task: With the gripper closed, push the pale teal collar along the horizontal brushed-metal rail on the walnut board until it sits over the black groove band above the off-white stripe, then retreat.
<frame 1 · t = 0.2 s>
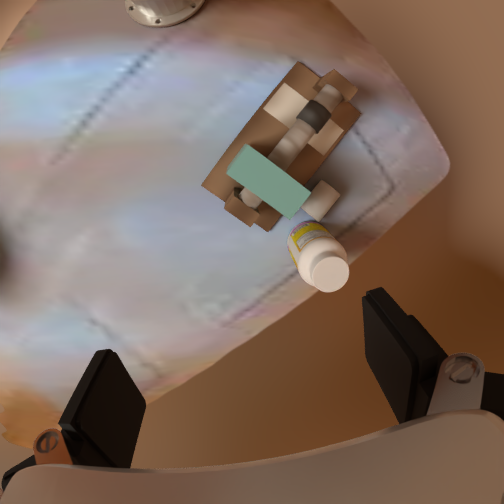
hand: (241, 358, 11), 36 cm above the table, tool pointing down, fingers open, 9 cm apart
supplement bottle: (307, 239, 48), on the table
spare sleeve: (317, 198, 46), on the table
pipe rig: (282, 145, 42), on the table
collar: (265, 177, 38), point 6 cm above the table, slide at 0.0 cm
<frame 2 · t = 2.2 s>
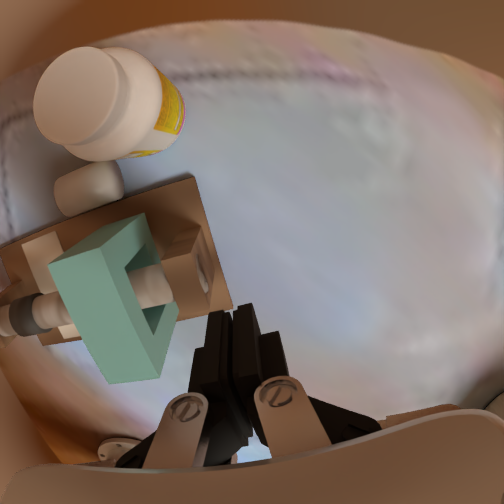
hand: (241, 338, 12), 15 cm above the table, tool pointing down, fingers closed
supplement bottle: (148, 117, 23), on the table
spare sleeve: (93, 174, 23), on the table, tilted 34°
pipe rig: (99, 275, 27), on the table
collar: (124, 292, 21), point 6 cm above the table, slide at 0.0 cm
canister: (494, 408, 40), on the table
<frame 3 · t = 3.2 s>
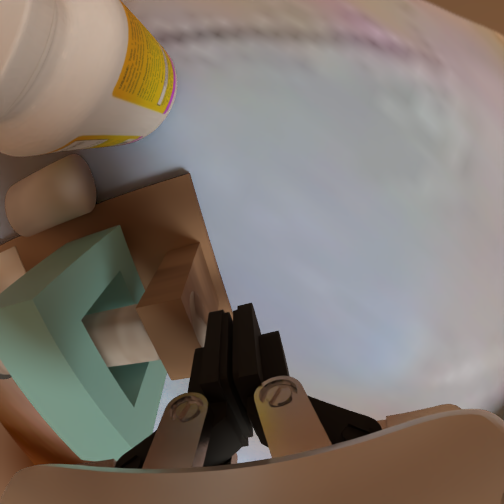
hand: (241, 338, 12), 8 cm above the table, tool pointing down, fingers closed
supplement bottle: (126, 92, 15), on the table
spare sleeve: (53, 173, 16), on the table, tilted 47°
pipe rig: (71, 303, 20), on the table
collar: (92, 341, 14), point 6 cm above the table, slide at 0.0 cm
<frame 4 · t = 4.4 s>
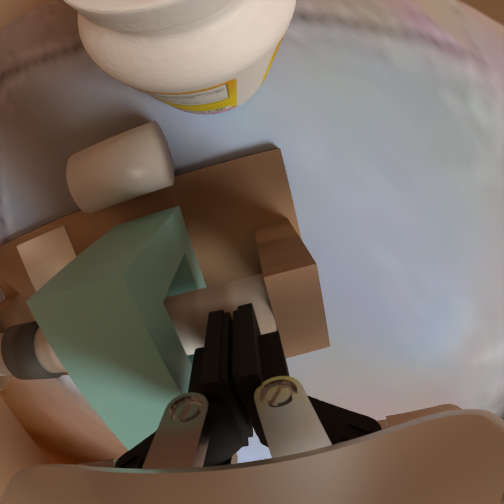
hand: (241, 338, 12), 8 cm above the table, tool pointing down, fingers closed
supplement bottle: (209, 62, 15), on the table
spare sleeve: (121, 143, 16), point 1 cm above the table, tilted 50°
pipe rig: (129, 288, 19), on the table
collar: (155, 330, 14), point 6 cm above the table, slide at 1.5 cm, touching gripper
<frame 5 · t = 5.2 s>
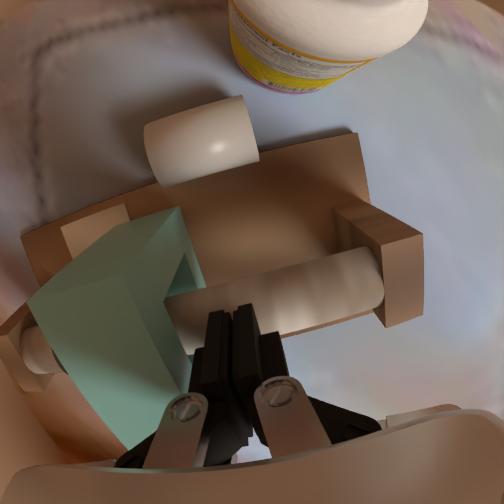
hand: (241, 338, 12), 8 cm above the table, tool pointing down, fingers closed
supplement bottle: (287, 45, 15), on the table
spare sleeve: (198, 117, 16), point 1 cm above the table, tilted 51°
pipe rig: (193, 272, 19), on the table
collar: (155, 330, 14), point 6 cm above the table, slide at 6.2 cm, touching gripper
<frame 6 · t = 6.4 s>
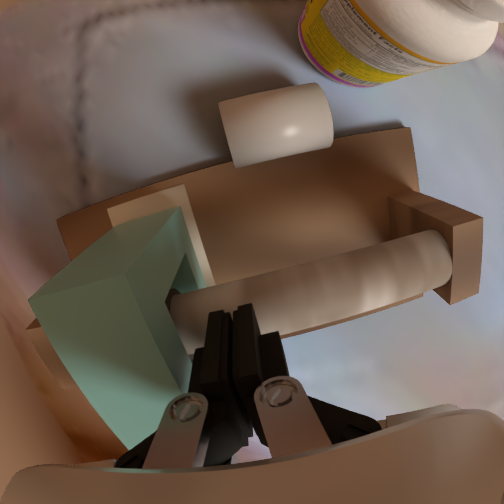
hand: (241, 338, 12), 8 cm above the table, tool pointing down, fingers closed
supplement bottle: (347, 41, 15), on the table
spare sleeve: (266, 101, 15), point 1 cm above the table, tilted 51°
pipe rig: (251, 258, 19), on the table
collar: (155, 329, 14), point 6 cm above the table, slide at 9.9 cm, touching gripper
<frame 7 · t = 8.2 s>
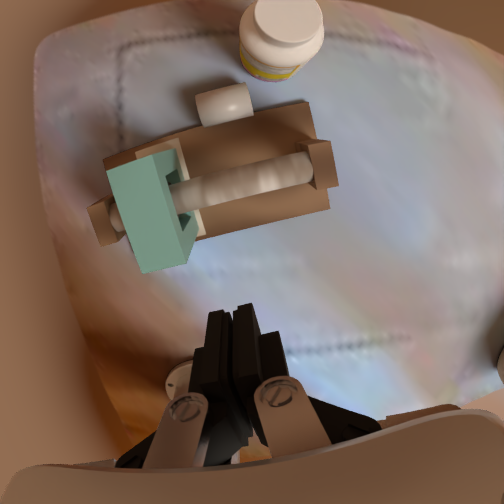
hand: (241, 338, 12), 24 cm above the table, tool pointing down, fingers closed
supplement bottle: (270, 55, 28), on the table
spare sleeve: (221, 93, 29), point 1 cm above the table, tilted 51°
pipe rig: (215, 179, 33), on the table
collar: (159, 204, 27), point 6 cm above the table, slide at 9.9 cm
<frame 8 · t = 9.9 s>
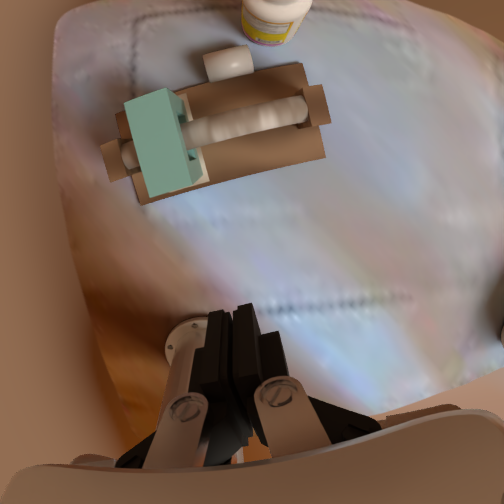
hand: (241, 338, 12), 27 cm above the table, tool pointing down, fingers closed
supplement bottle: (268, 25, 30), on the table
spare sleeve: (225, 55, 30), point 1 cm above the table, tilted 51°
pipe rig: (218, 130, 34), on the table
collar: (167, 142, 29), point 6 cm above the table, slide at 9.9 cm
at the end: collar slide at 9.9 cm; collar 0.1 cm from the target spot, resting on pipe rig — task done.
